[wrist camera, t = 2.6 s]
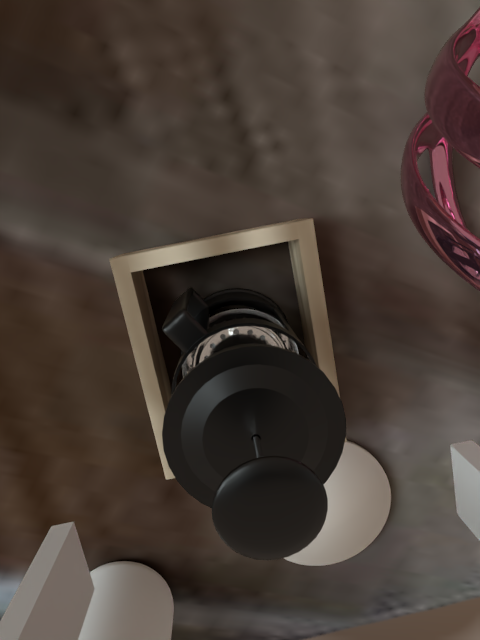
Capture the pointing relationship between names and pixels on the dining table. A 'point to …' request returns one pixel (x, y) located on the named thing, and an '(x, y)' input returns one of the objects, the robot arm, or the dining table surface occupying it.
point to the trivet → (350, 509)
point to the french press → (251, 423)
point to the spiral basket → (447, 152)
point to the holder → (133, 263)
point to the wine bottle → (128, 604)
